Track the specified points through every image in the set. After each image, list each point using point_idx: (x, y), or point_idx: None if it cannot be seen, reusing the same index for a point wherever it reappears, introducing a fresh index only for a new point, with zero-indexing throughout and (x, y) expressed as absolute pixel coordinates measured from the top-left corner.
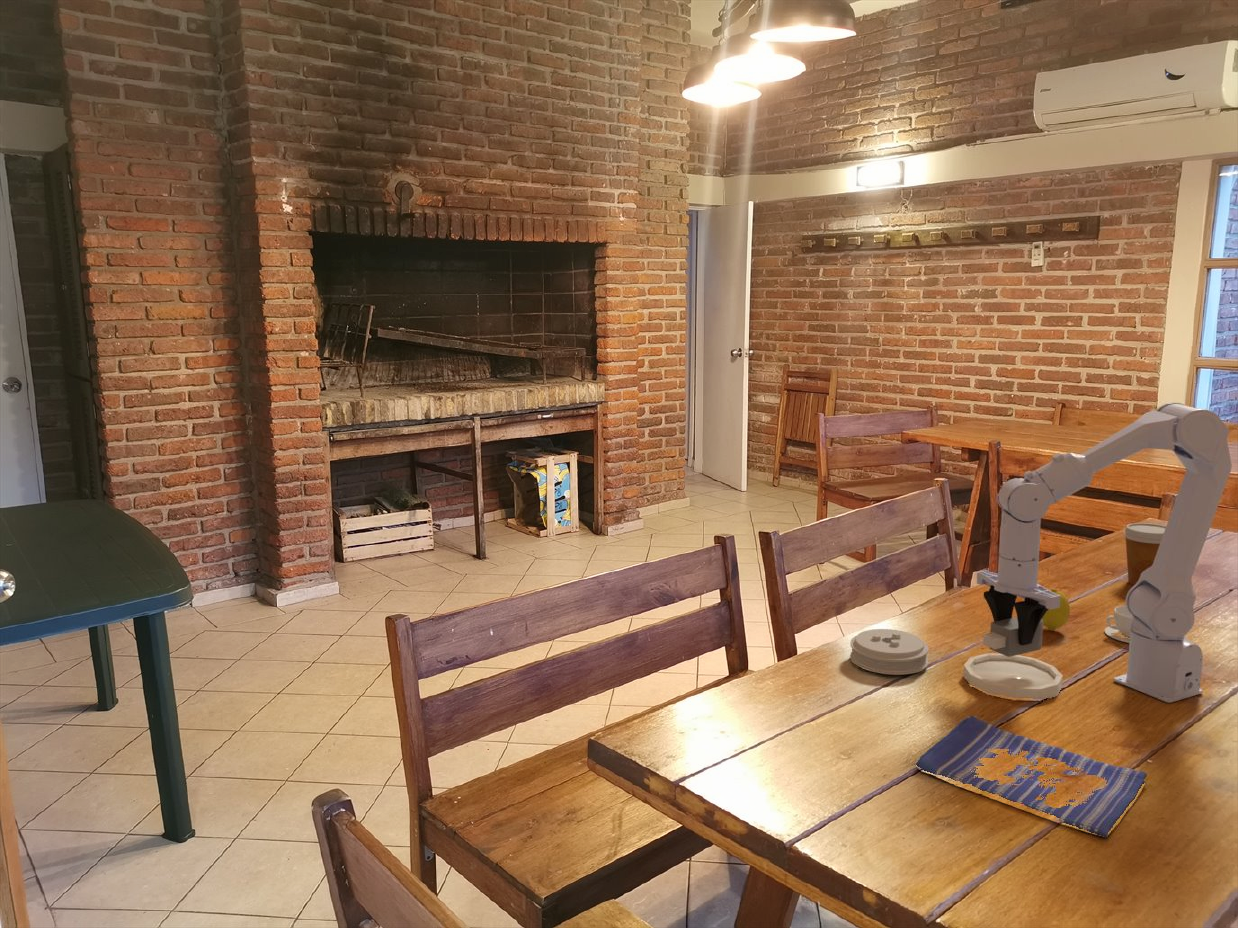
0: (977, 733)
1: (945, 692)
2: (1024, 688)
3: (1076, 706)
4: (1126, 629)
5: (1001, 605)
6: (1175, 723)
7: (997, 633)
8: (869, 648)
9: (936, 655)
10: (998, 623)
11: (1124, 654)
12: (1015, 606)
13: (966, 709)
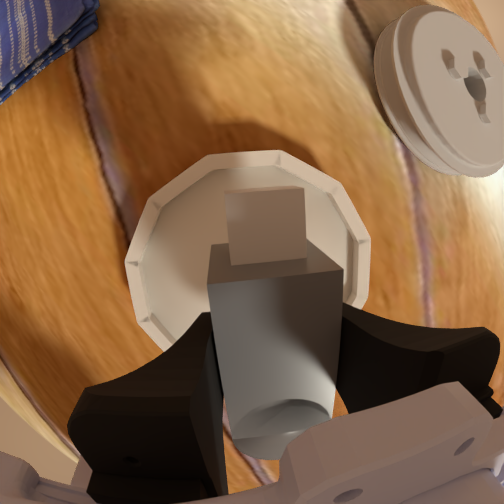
0: (54, 10)
1: (270, 75)
2: (140, 225)
3: (95, 307)
4: None
5: (378, 382)
6: (28, 385)
7: (285, 260)
8: (446, 13)
9: (436, 217)
10: (314, 294)
11: None
12: (176, 394)
13: (169, 60)
